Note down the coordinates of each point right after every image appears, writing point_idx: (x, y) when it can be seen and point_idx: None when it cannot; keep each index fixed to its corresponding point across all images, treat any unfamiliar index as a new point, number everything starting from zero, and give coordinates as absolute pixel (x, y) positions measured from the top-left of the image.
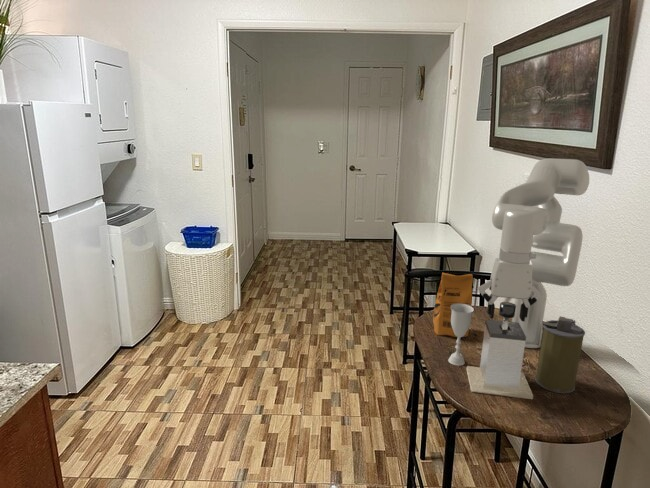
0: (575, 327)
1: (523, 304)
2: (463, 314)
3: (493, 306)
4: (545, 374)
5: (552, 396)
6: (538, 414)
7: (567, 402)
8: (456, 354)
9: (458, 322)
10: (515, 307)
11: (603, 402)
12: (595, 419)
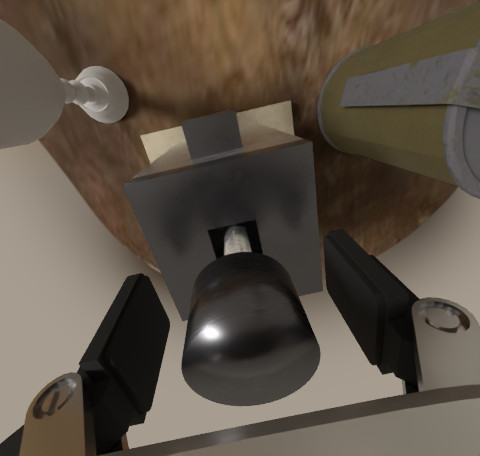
0: None
1: (395, 362)
2: None
3: (142, 412)
4: (347, 147)
5: (342, 172)
6: None
7: (366, 183)
8: (90, 102)
9: None
10: (311, 366)
11: None
12: (399, 218)
